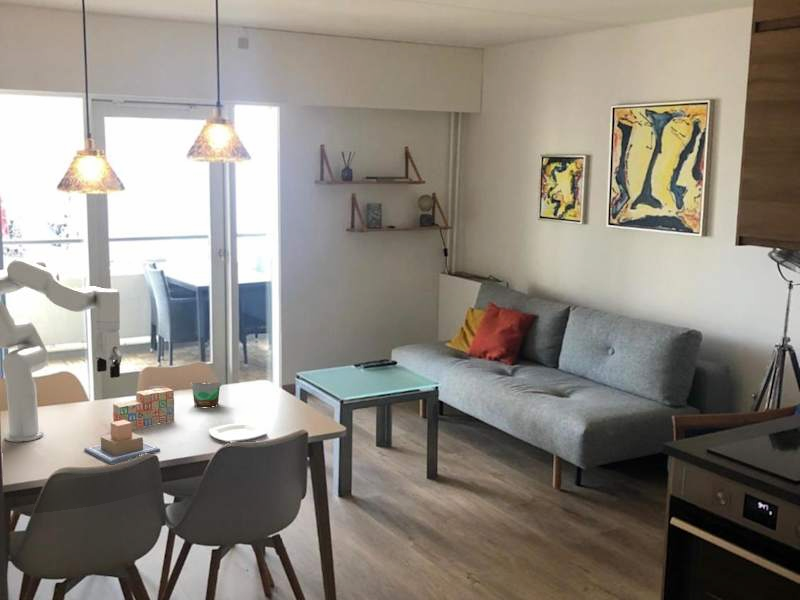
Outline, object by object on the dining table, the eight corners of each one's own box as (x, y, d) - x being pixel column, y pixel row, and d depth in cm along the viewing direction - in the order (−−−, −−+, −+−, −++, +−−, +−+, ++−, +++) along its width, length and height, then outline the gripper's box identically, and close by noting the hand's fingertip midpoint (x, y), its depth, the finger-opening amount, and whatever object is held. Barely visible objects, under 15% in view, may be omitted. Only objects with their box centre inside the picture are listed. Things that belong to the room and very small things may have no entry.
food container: (190, 409, 336) (190, 385, 335) (190, 405, 342) (190, 381, 341) (222, 408, 339) (221, 383, 338) (221, 403, 345) (221, 380, 344)
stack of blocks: (120, 431, 308) (119, 399, 306) (113, 427, 312) (112, 395, 310) (174, 421, 322) (174, 389, 320) (167, 417, 326) (166, 386, 324)
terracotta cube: (111, 436, 286) (110, 422, 285) (124, 433, 289) (124, 419, 288) (118, 440, 282) (117, 425, 282) (132, 437, 286) (131, 422, 285)
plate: (201, 434, 307) (201, 428, 307) (250, 425, 318) (250, 420, 318) (223, 448, 292) (223, 443, 292) (273, 438, 303) (273, 433, 303)
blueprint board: (84, 450, 286) (83, 436, 285) (132, 439, 299) (132, 425, 298) (110, 464, 274) (110, 449, 273) (160, 451, 287) (159, 437, 286)
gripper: (86, 322, 291) (86, 370, 294) (109, 331, 279) (109, 381, 282) (106, 320, 296) (107, 367, 299) (130, 328, 284) (130, 378, 287)
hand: (108, 374), depth 290 cm, fingers open, 9 cm apart
